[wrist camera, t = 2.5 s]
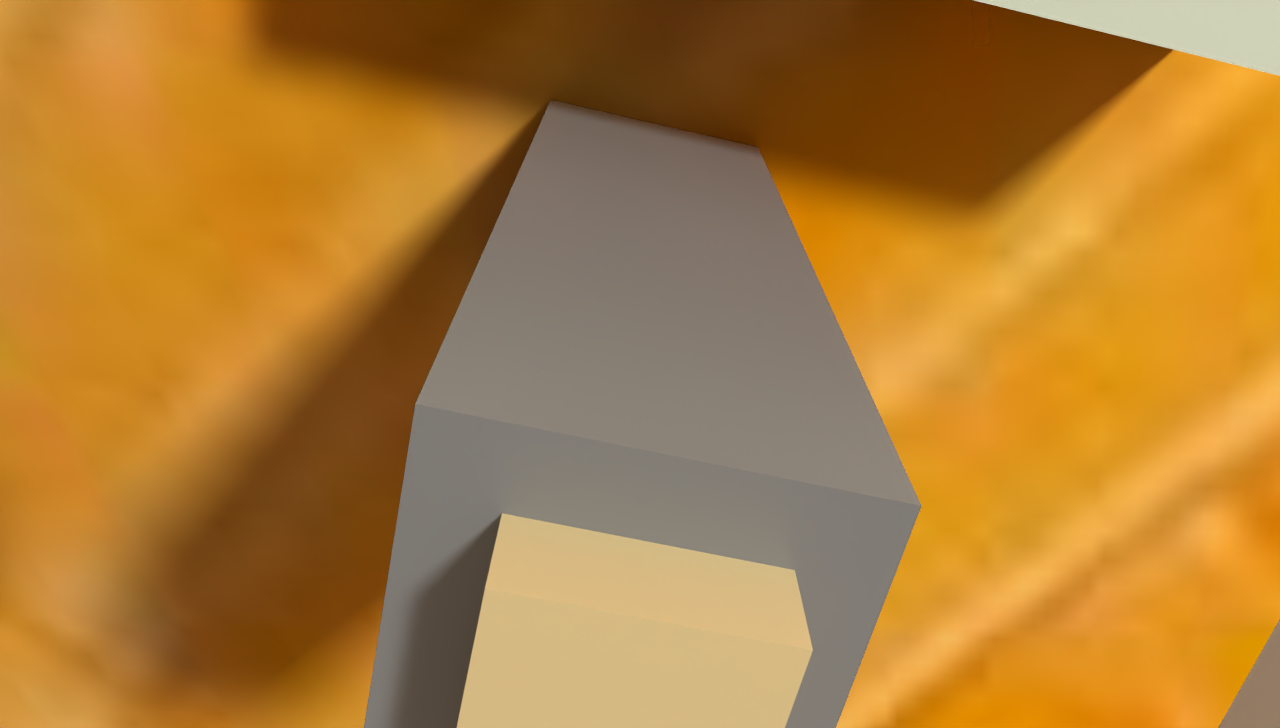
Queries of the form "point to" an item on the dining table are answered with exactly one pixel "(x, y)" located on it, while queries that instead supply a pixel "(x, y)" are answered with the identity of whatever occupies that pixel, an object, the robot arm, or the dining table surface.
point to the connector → (639, 460)
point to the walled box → (1177, 25)
